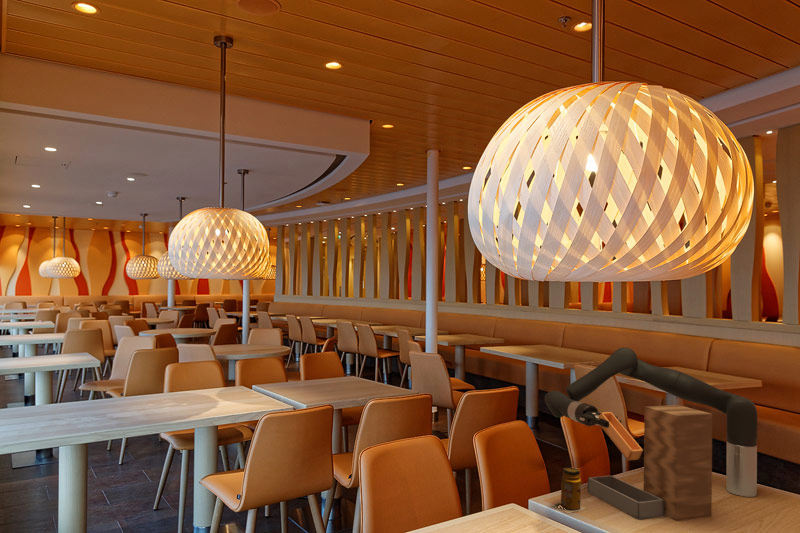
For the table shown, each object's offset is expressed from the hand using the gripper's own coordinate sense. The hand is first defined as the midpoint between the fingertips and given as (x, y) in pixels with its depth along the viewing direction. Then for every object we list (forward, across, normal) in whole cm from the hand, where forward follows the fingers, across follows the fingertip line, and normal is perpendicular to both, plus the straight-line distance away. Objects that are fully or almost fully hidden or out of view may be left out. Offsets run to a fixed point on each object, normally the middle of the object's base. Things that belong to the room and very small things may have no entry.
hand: (614, 424), depth 196 cm
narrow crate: (+2, 0, +5) cm, 5 cm away
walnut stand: (+15, +13, +25) cm, 31 cm away
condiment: (+3, -20, +25) cm, 32 cm away
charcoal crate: (+5, 0, +25) cm, 25 cm away
